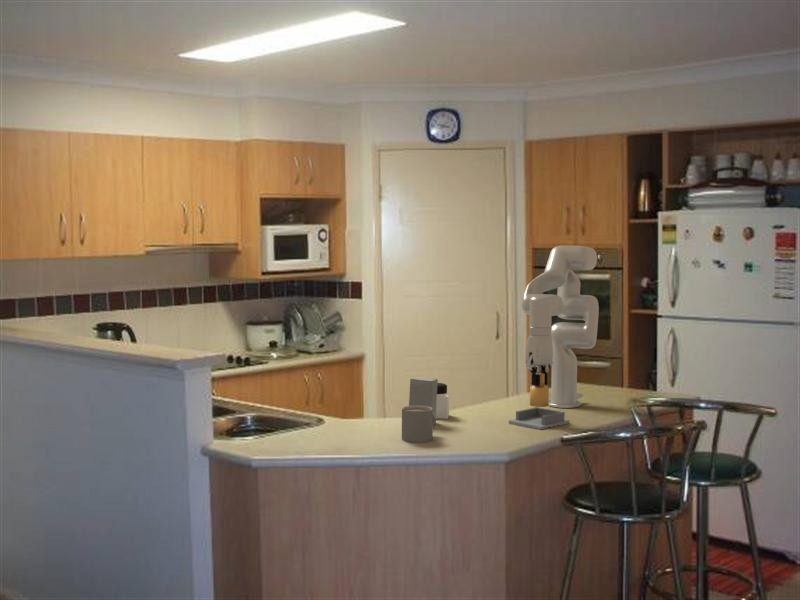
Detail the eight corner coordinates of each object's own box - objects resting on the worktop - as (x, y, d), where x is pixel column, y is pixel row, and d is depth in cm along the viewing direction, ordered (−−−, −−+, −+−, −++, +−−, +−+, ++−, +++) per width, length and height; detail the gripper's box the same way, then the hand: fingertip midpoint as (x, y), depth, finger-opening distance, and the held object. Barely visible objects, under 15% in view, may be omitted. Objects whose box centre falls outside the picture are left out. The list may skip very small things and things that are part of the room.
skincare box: (407, 424, 345) (407, 378, 344) (415, 420, 352) (415, 375, 351) (430, 426, 342) (431, 380, 341) (437, 422, 349) (438, 377, 348)
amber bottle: (537, 402, 351) (538, 371, 350) (552, 405, 346) (552, 373, 346) (526, 405, 347) (526, 373, 346) (540, 407, 342) (541, 375, 341)
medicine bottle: (448, 415, 362) (449, 382, 361) (447, 419, 354) (448, 385, 353) (429, 414, 362) (429, 381, 361) (427, 418, 355) (427, 385, 354)
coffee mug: (415, 443, 316) (415, 412, 315) (395, 438, 324) (395, 407, 323) (446, 438, 324) (447, 407, 323) (427, 432, 332) (427, 403, 331)
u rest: (537, 417, 358) (537, 406, 358) (569, 423, 348) (569, 411, 347) (508, 423, 347) (508, 412, 346) (540, 429, 337) (540, 418, 336)
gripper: (546, 329, 353) (545, 381, 354) (516, 332, 342) (515, 386, 343) (563, 331, 348) (562, 383, 349) (533, 334, 336) (533, 388, 338)
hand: (539, 384), depth 346 cm, fingers closed on amber bottle, 3 cm apart
